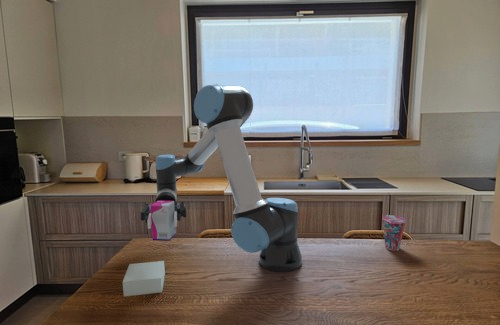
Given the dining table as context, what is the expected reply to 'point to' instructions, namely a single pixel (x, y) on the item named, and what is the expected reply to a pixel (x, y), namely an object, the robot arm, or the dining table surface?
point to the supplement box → (163, 220)
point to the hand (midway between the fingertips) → (162, 223)
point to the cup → (393, 231)
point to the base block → (144, 278)
